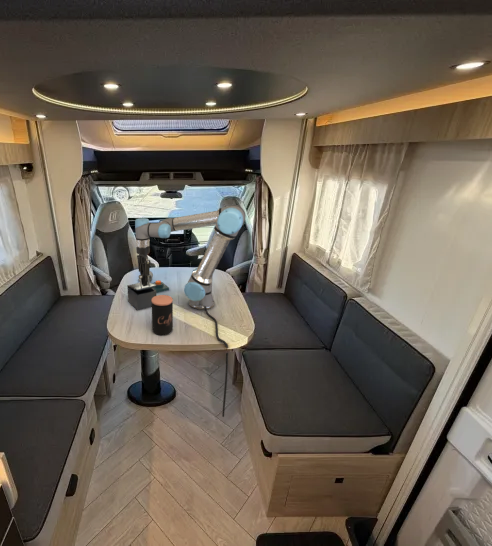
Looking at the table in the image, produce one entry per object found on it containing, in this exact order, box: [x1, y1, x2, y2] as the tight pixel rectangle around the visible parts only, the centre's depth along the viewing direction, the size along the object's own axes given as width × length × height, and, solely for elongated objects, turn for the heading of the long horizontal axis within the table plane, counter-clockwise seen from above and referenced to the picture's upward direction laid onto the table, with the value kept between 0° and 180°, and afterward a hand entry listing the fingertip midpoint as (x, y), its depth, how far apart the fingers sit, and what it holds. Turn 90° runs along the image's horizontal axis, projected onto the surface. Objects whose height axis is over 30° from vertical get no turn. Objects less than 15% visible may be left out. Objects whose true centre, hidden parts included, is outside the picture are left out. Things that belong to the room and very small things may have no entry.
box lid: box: [126, 274, 157, 291], centre depth 185 cm, size 16×13×8 cm
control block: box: [150, 281, 170, 294], centre depth 210 cm, size 12×10×4 cm
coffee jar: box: [151, 294, 174, 337], centre depth 157 cm, size 11×11×18 cm
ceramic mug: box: [137, 270, 154, 283], centre depth 222 cm, size 11×8×8 cm
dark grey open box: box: [126, 286, 158, 311], centre depth 188 cm, size 15×13×10 cm
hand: (144, 285), depth 182 cm, fingers closed on box lid, 2 cm apart
